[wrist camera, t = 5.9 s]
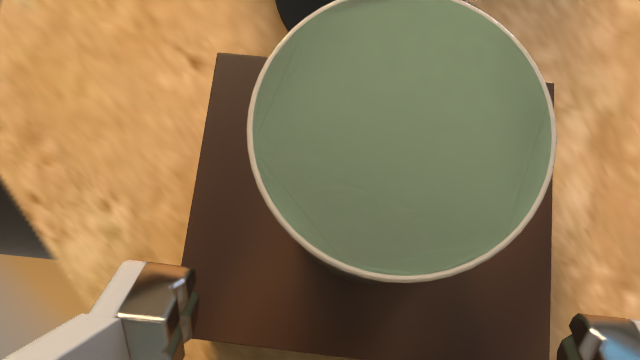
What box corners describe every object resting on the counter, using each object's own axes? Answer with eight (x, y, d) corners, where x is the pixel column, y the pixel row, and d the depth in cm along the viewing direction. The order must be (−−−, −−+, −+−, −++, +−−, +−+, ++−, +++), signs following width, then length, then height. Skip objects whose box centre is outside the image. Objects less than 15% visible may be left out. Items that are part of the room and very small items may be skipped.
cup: (279, 275, 20) (224, 263, 10) (299, 120, 21) (268, -26, 11) (445, 295, 19) (556, 301, 10) (455, 135, 21) (560, -2, 11)
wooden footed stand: (207, 324, 25) (168, 335, 19) (242, 102, 28) (217, 52, 22) (498, 360, 24) (549, 383, 19) (507, 127, 27) (554, 82, 21)
